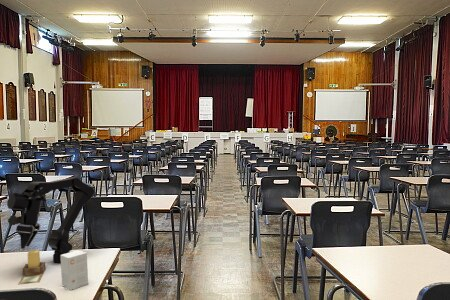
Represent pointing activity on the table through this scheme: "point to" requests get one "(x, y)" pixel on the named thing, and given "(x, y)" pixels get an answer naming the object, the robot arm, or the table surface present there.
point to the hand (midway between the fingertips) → (24, 247)
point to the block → (33, 259)
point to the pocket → (34, 270)
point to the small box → (74, 269)
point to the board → (30, 279)
